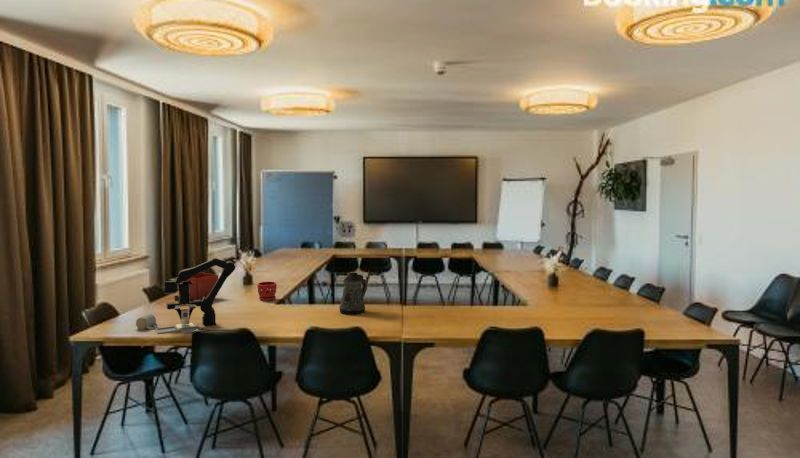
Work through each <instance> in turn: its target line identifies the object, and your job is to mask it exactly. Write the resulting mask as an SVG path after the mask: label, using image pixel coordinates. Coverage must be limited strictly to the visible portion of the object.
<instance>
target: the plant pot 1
mask: <svg viewBox="0 0 800 458" xmlns="http://www.w3.org/2000/svg"><path fill="white" fill-rule="evenodd" d="M219 277H220V275H219V274H216V273H215V274H214V273H208V272H199V273H197V274H195V275H194V276H193V277H191V278H190V279H188V280H186V281H189V280H190V281H191V282H193V284H189V288H190V301H191V300H192V301H194V300H201V301H202V299H203V297H205V298H206V297H207V296H208V295H209V293H210V291H211V290H212V288H213V286H214V285H215V283H216V282H217V280H218V278H219ZM181 283H183V281H182V282H181Z"/></svg>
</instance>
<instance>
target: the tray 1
mask: <svg viewBox="0 0 800 458" xmlns="http://www.w3.org/2000/svg"><path fill="white" fill-rule="evenodd" d="M154 330H155V331H156V333H157V335H161V334H167V333H168V334H170V333H178V332H179V328H177V327H176V325H172V326H165V327H157V328H155V329H154Z"/></svg>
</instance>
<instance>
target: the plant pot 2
mask: <svg viewBox="0 0 800 458" xmlns="http://www.w3.org/2000/svg"><path fill="white" fill-rule="evenodd" d="M256 286H257V292H258V293H257V294H258V295H259V297H258V299H259V300H260V301H263V302H267V301H268V302H269V301H270V302H271V301H273V300H276V298H277V296H276V293H277V282H275V281H261V282H258V283H257V285H256Z"/></svg>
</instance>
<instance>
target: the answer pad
mask: <svg viewBox="0 0 800 458" xmlns="http://www.w3.org/2000/svg"><path fill="white" fill-rule="evenodd" d="M175 326H176V328H177V329H180V328H187V327H195V325H194V323H193V322H189V324H186V325H182V324H181V323H179V324H175Z"/></svg>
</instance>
